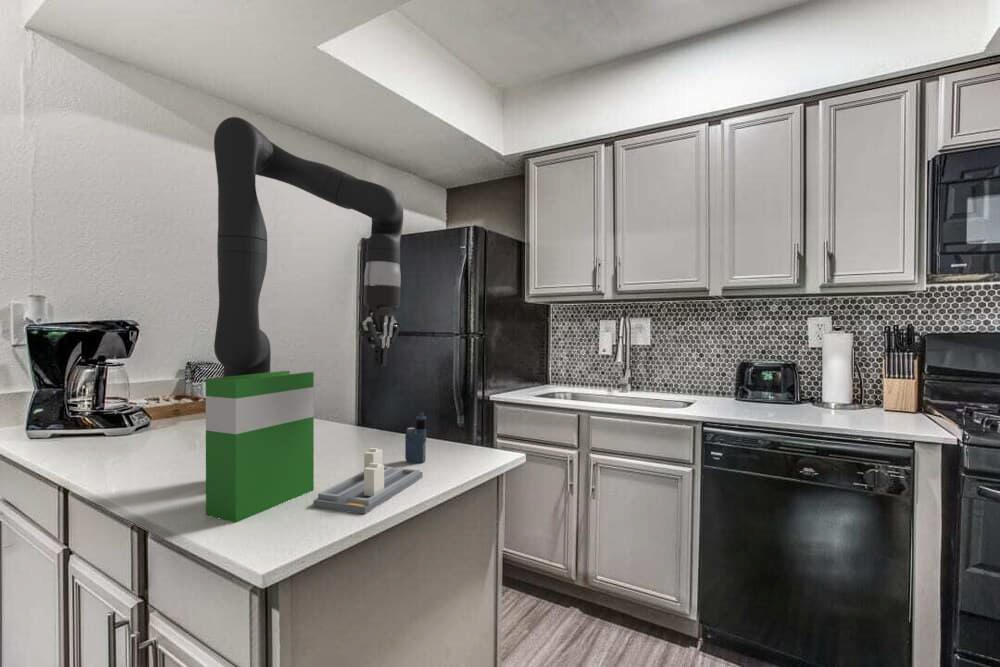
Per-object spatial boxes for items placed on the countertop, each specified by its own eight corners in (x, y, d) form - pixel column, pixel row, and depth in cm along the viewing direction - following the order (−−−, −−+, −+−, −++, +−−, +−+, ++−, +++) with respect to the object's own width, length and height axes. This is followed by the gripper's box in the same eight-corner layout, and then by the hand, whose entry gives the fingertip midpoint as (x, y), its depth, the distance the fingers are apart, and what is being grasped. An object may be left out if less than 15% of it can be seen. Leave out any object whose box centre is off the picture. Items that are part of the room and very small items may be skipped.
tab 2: (363, 495, 91) (363, 465, 91) (374, 489, 95) (374, 460, 94) (374, 496, 90) (374, 466, 90) (384, 490, 94) (384, 461, 94)
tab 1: (364, 476, 103) (364, 450, 102) (373, 471, 106) (373, 446, 106) (373, 477, 102) (373, 450, 102) (382, 472, 105) (382, 447, 105)
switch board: (313, 506, 89) (313, 495, 89) (378, 472, 110) (378, 464, 110) (365, 514, 86) (365, 502, 86) (422, 477, 107) (422, 468, 107)
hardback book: (286, 485, 101) (286, 370, 101) (313, 490, 98) (313, 372, 98) (205, 515, 85) (205, 378, 84) (235, 522, 82) (235, 380, 82)
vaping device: (424, 463, 118) (424, 414, 118) (403, 462, 119) (403, 413, 119) (427, 460, 120) (427, 412, 120) (407, 459, 121) (407, 411, 121)
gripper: (384, 287, 111) (382, 363, 111) (348, 281, 99) (346, 366, 99) (413, 287, 109) (411, 364, 109) (380, 281, 96) (378, 368, 96)
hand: (380, 365), depth 104 cm, fingers closed
